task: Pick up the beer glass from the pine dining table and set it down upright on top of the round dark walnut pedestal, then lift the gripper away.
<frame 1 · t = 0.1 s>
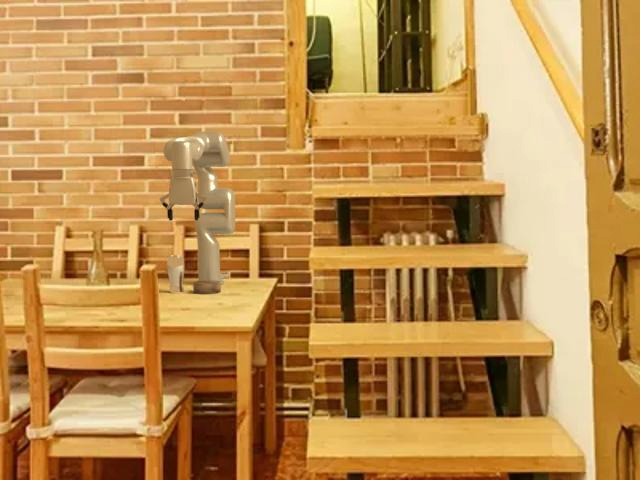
hand: (183, 220, 267), 31 cm above the table, tool pointing down, fingers open, 9 cm apart
beer glass: (176, 292, 294), on the table
walnut pedestal: (207, 292, 293), on the table
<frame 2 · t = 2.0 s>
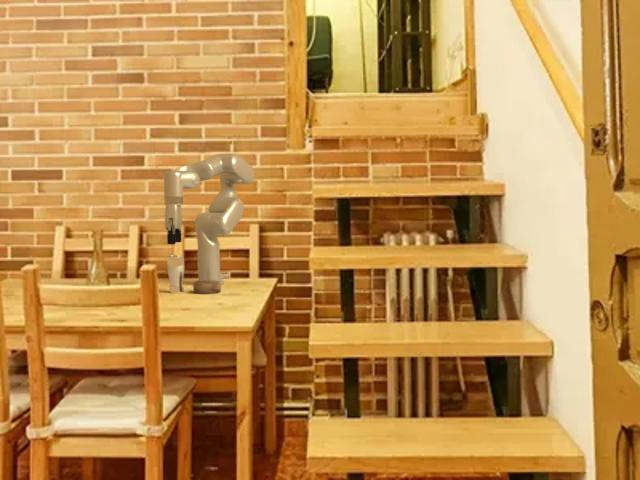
hand: (174, 243, 292), 20 cm above the table, tool pointing down, fingers open, 9 cm apart
nothing on the table moved.
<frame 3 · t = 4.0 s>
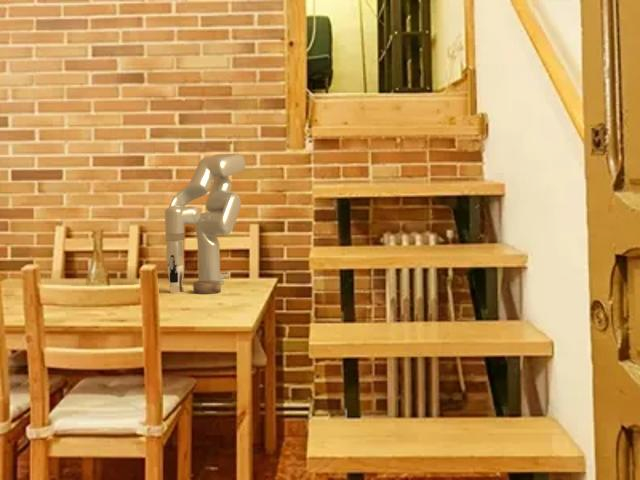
hand: (176, 280, 293), 5 cm above the table, tool pointing down, fingers closed on beer glass, 6 cm apart
beer glass: (176, 292, 294), on the table, touching gripper
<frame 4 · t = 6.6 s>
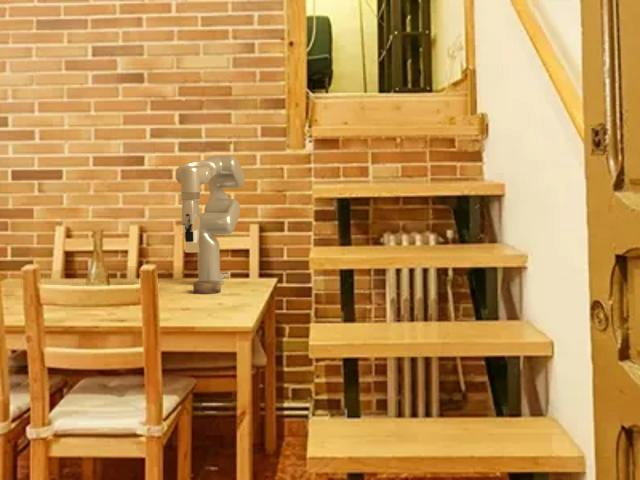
hand: (192, 240, 292), 21 cm above the table, tool pointing down, fingers closed on beer glass, 6 cm apart
beer glass: (192, 252, 292), point 16 cm above the table, touching gripper
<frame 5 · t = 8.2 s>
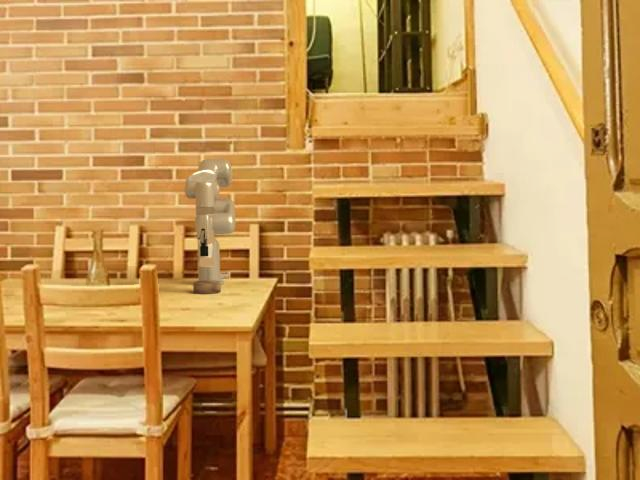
hand: (206, 254, 291), 15 cm above the table, tool pointing down, fingers closed on beer glass, 6 cm apart
beer glass: (206, 266, 292), point 11 cm above the table, touching gripper
when the fingers open (10 cm above the table, at t = 9.7 s): beer glass drops 1 cm, resting on walnut pedestal.
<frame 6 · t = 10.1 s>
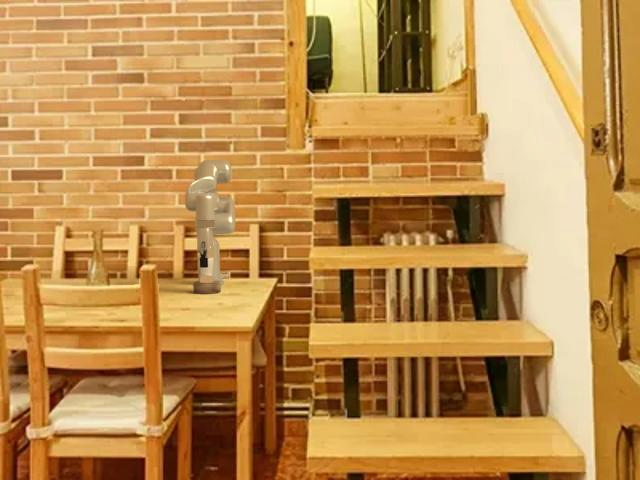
hand: (206, 266, 292), 11 cm above the table, tool pointing down, fingers open, 9 cm apart
beer glass: (206, 282, 292), point 4 cm above the table, touching walnut pedestal
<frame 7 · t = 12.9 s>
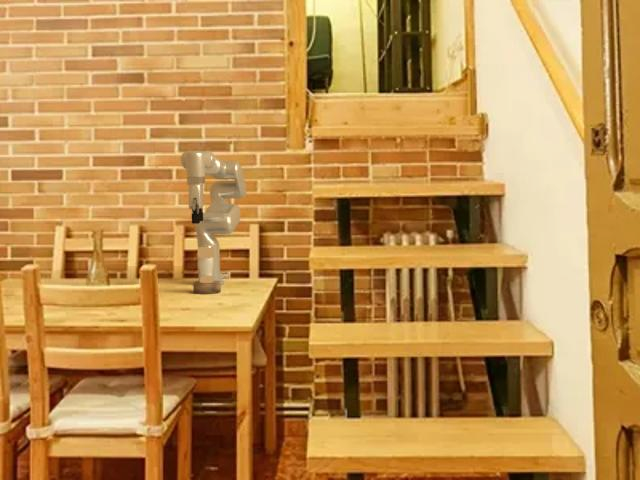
hand: (197, 222, 298), 28 cm above the table, tool pointing down, fingers open, 9 cm apart
nothing on the table moved.
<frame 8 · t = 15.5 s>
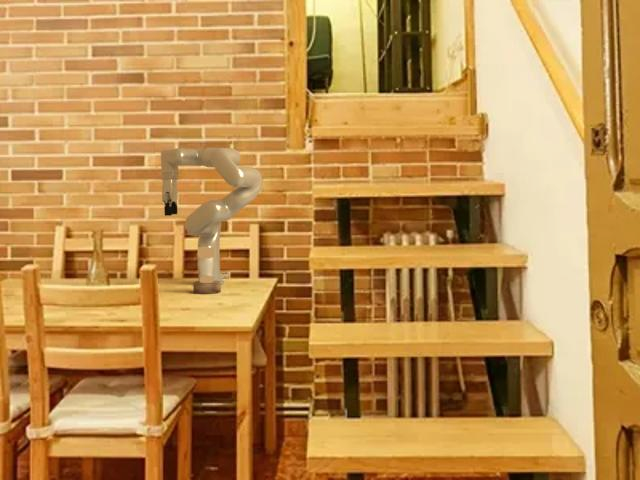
hand: (171, 214, 321), 30 cm above the table, tool pointing down, fingers open, 9 cm apart
nothing on the table moved.
at the end: beer glass 0.2 cm off-centre on the walnut pedestal, point 3.8 cm above the walnut pedestal's base; beer glass tilted 0°; the gripper is holding nothing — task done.
